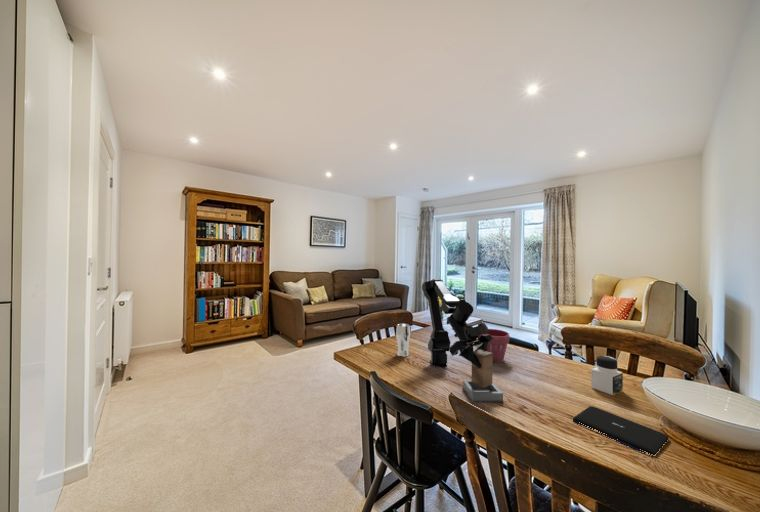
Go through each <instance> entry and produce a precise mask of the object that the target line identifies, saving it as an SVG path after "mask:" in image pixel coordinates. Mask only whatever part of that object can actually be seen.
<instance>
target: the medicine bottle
mask: <svg viewBox="0 0 760 512" xmlns="http://www.w3.org/2000/svg"><path fill="white" fill-rule="evenodd" d="M623 377H624V374H623V372H622V371H619V370H618V360H617V359H616V358H614V357H611V356H609V355H607V356H606V355H599V356H597V357H596V367H594V368H591V369H590V388H592V389H594V390H597V391H600V392H602V393H605V394H607V395H611V396H615V395H617V394H619V393H621V392H623V390H624V389H623V386H624V384H623V383H624V382H623V381H624V378H623Z"/></svg>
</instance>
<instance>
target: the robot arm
mask: <svg viewBox="0 0 760 512" xmlns="http://www.w3.org/2000/svg"><path fill="white" fill-rule="evenodd" d="M421 290H422V293H423V296H424V297H425V298H426V299H427V301H428V302H427V303H428V306H429V307H428V308H429V315H430V320H431V327H432V331H431V333H430V336H429V337H430V339H429V341H428V343H427V350H428V351H430V360H429V361H430V364H431V365H432V367H447V366H448V354H447V352H449V353H450V355H451V356H452V357H453V356H456V355H458V356H459V357H462V358H463V359H466V361H468V362H470V363H471V364H472V363H473V364H474V365H475V366H477V367H478V368H481V364H480V362H479V360H478V359H477V357H476V355H475V354H474V352H473V351H476V350H479V349H482V350H485V351H487V345H488V344H489V342H491V341H492V340H493V338H492V337H491V335H489V334H487V332H486V331H487V330H488V329H489V327H488V326H487V324H486V323H485V322H480V323H478V324H477V325H476V326H473V325H471V324H470V325H469V324H468V323H467V321H468V320H469V318H470V317H471V316H472V314H473V313H474V307H473V306H472V304H471V303H469V302H467V301H466V299H459V298H458V297H457V296H454V295H452V293H451V292H450V291H449V289H448V288H447V286H446V285H445V284H444V280H443V279H441V278H433V279H430V280H427V281H424V282H423V283H422V285H421ZM439 299H440V301H441V307H440V305H439V304H440V302H439ZM440 308H441V309H440ZM441 310H442V312H443V313H444V315H449V316H448V317H446V325H450V327H451V329H452V330H453V332H454V337H455V338H458V339H459V340H456V341H454V343H453V344H452V345H451V339H450V337H449V332H448V330H445V329H444V327H443V326H444V325H443V320H442V315H441ZM482 334H485V335H482ZM479 335H482V336H479ZM474 347H475V350H474Z"/></svg>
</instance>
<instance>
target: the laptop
mask: <svg viewBox="0 0 760 512" xmlns="http://www.w3.org/2000/svg"><path fill="white" fill-rule="evenodd" d="M572 420H573V421H572V423H573V422H575V423H577V424H576V425H578V424H580V425H583V424H584V425H583V426H585V425H586V426H585V427H587V426H589V427H588V428H590V427H591V428H590V429H592V428H593V430H594V429H596V430H598V432H599V431H600V433H601V432H602V433H601V434H603V433H605V434H603V435H605V436H607V437H609V438H611V439H614V440H616V441H618V442H620V443H622V444H624V445H623V446H625V445H626V446H625V447H627V446H629V447H631V448H633V449H632V450H634V449H636V450H638V451H641V452H644V451H646V452H648V454H649V453H650V455H651V454H653V455H655V454H656V453H657V452H658V451H659V449H660V448H661V447H662V446H663V444H665V442H667V440H668V439H669V436H668V435H667V434H665V433H663V432H661V431H659V430H656V429H653V428H650V427H648V426H646V425H643V424H640V423H637V422H636V421H633V420H631V419H630V420H629V419H627V418H624V417H622V416H619V415H617V414H615V413H612V412H608V411H606V410H604V409H602V408H599V407H595V406H591V405H590V406H588V407H587V408H586V409H584V410H583V411H581V412H579V413H578V414H577V415H575V416H574V417H573V418H572ZM579 422H580V423H579ZM575 423H574V424H575ZM581 423H582V424H581ZM580 425H579V426H580ZM606 434H607V435H606ZM607 437H606V438H607ZM609 438H608V439H609ZM611 439H610V440H611ZM617 439H618V440H617ZM616 441H615V442H616ZM668 441H669V440H668ZM618 442H617V443H618ZM620 443H619V444H620ZM667 443H668V442H667ZM622 444H621V445H622ZM665 445H666V444H665ZM629 447H628V448H629ZM631 448H630V449H631ZM640 449H641V450H640ZM636 450H635V451H636ZM642 450H643V451H642ZM638 451H637V452H638ZM646 452H644V453H646Z"/></svg>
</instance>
